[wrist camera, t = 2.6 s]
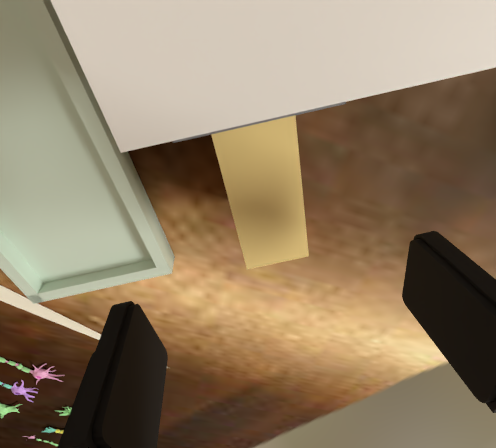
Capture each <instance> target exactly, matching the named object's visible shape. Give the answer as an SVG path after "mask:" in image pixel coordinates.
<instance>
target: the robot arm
mask: <svg viewBox="0 0 496 448" xmlns="http://www.w3.org/2000/svg"><path fill="white" fill-rule="evenodd" d="M402 297H403V301H404V303H405V305H406V306H407V308H408V309H409V310H410V311H411V313H412V314H413V315H414V317H415V318H416V319H417V321H418V322H419V323H420V325H421V326H422V327H423V329H424V330H425V331H426V333H427V334H428V335H429V337H430V338H431V339H432V341H433V342H434V343H435V344H436V346H437V347H438V348H439V350H440V351H441V352H442V354H443V355H444V356H445V358H446V359H447V360H448V362H449V363H450V364H451V366H452V367H453V368H454V370H455V371H456V372H457V373H458V375H459V376H460V377H461V379H462V380H463V381H464V383H465V384H466V385H467V387H468V388H469V389H470V391H471V392H472V393H473V395H474V396H475V397H476V398H477V399H478V400H479V401H480V402H482V403H486V404H487V405H488V407H489V408H490V409H491V411H492V412H493V413H496V279H494V278H493V277H492V276H491V275H489V274H488V273H487V272H486V271H485V270H483V269H482V268H481V267H480V266H478V265H477V264H476V263H475V262H474V261H472V260H471V259H470V258H469V257H467V256H466V255H465V254H464V253H463V252H461V251H460V250H459V249H458V248H457V247H455V246H454V245H453V244H452V243H450V242H449V241H448V240H447V239H446V238H444V237H443V236H442V235H441V234H439V233H438V232H436V231H431V232H427V233H423V234H419V235H416V236H415V237H414V240H412V241H411V242H410V246H409V252H408V259H407V266H406V273H405V280H404V286H403V293H402ZM167 359H168V358H167V351H166V349H165V347H164V345H163V344H162V342H161V340H160V339H159V337H158V335H157V334H156V332H155V330H154V329H153V327H152V325H151V324H150V322H149V320H148V319H147V317H146V315H145V314H144V312H143V310H142V309H141V307H140V306H139V305H138V304H134V303H133V302H132V301H129V302H125V303H120V304H116V305H113V306H112V308H111V310H110V312H109V315H108V318H107V321H106V323H105V326H104V329H103V332H102V335H101V337H100V340H99V343H98V346H97V348H96V351H95V352H94V353H93V354H92V356H91V358H90V361H89V363H88V366H87V369H86V372H85V374H84V377H83V380H82V382H81V385H80V388H79V391H78V393H77V396H76V399H75V401H74V404H73V407H72V410H71V412H70V415H69V418H68V420H67V423H66V426H65V429H64V431H63V434H62V437H61V439H60V442H59V445H58V447H57V448H157V441H158V433H159V425H160V416H161V408H162V400H163V392H164V384H165V376H166V368H167Z"/></svg>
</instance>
